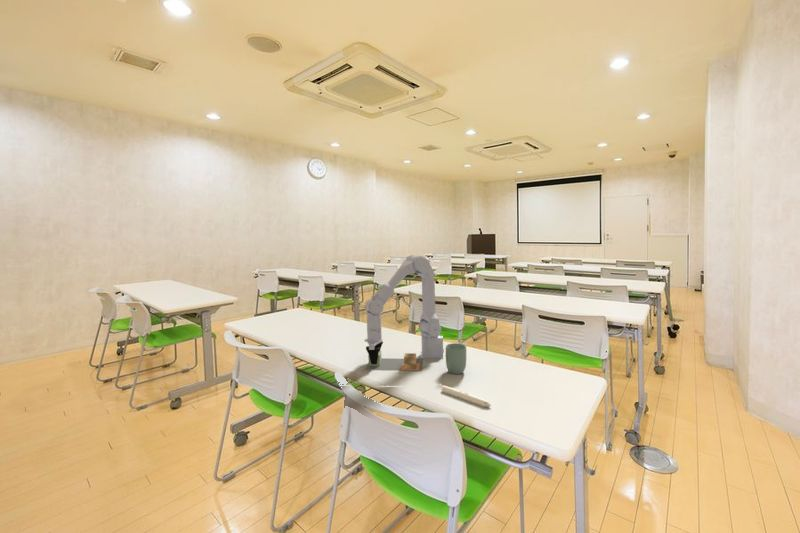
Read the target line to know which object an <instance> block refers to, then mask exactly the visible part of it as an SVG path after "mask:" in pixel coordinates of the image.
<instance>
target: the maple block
mask: <svg viewBox="0 0 800 533" xmlns="http://www.w3.org/2000/svg"><path fill="white" fill-rule="evenodd" d="M403 359H404V368H405V369H416V359H417V353H416V352H415V353H410V352H408V353H407V352H406V353H404V355H403Z"/></svg>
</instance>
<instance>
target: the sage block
mask: <svg viewBox="0 0 800 533" xmlns="http://www.w3.org/2000/svg"><path fill="white" fill-rule="evenodd" d="M367 356H368V363H369V366H380V365H381V362H382V360H381V358H382V351H381V350H380V351H379V353H378V360H377V364H371V361H370V357H369V354H368V355H367Z"/></svg>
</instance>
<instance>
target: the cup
mask: <svg viewBox="0 0 800 533" xmlns="http://www.w3.org/2000/svg"><path fill="white" fill-rule="evenodd" d="M445 366H446V369H447V371H448V372H449V373H450V374H453V375H460V374H463V373H464V372H465V370H466V368H467V346H466V345H465V344H463V343H456V342H455V343H448V344H446V346H445Z"/></svg>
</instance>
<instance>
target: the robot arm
mask: <svg viewBox="0 0 800 533" xmlns="http://www.w3.org/2000/svg"><path fill="white" fill-rule="evenodd" d="M415 273H417V275H418V276H420V277H421V295H422V296H421V297H422V298H421V301H422V313H421V315H420V318H419V319H420V320H419V323H418V329H419V330H420V332H421V351H420V352H421V353H420V359H444V352H445V348H444V337H443V335H440V334H441V332H442V326H441V324H440V319H439V317H438V315H437V314H436V292H435V291H436V287H435V272H434V269H433V267H432V266H431V263H430V260H429V259H428V258H426V257H425V256H423V255H420V256H419V255H414V254H411V255H409V256H407V257H406V259H404V260H403V261H402V263H401V265H400V267H399V268H397V270H396V272H395V273H394V274H393V275H392V277H391V278H390V280H388V282H387V283H383V284H382V285H380V284H379V286H378V290H376V292H375V293H374V294H373V295H372V294H371V298H368V300H366V301H365V305H363V306H364V310H365V311H366V333H367V334H366V335H367V336H366V338H364V342H366V343H367V344H368V346H366V347H365V349H366V351H367V353H368V355H369V357H370V361H371V364H377V360H378V353H379V351H381V348H382V347H383V346H382V345H383V343H384V341H383V337H382V336H383V335H382V312H383V311H384V306H385V305H386V303H388V301H389V300H390V298H391V297H392V296H393V295H394V294H395V288H397V286H398V285H399V284H400V283H401V282H402V281H403V280H404V278H405V277H406V276H407V275H408V276H409V275H411V274H415Z"/></svg>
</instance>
